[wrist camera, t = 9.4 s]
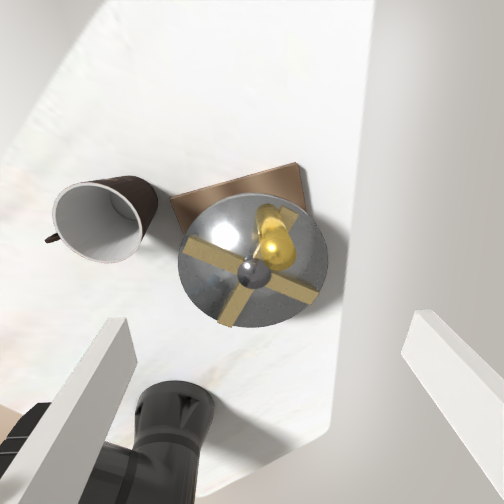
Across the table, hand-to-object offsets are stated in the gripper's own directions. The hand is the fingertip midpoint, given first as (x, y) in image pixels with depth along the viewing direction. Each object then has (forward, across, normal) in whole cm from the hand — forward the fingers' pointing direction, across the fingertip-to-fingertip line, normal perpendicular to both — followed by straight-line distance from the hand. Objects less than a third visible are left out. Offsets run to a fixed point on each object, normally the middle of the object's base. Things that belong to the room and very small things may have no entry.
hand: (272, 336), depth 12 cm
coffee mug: (+27, -17, 0) cm, 32 cm away
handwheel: (+20, 0, -7) cm, 21 cm away
